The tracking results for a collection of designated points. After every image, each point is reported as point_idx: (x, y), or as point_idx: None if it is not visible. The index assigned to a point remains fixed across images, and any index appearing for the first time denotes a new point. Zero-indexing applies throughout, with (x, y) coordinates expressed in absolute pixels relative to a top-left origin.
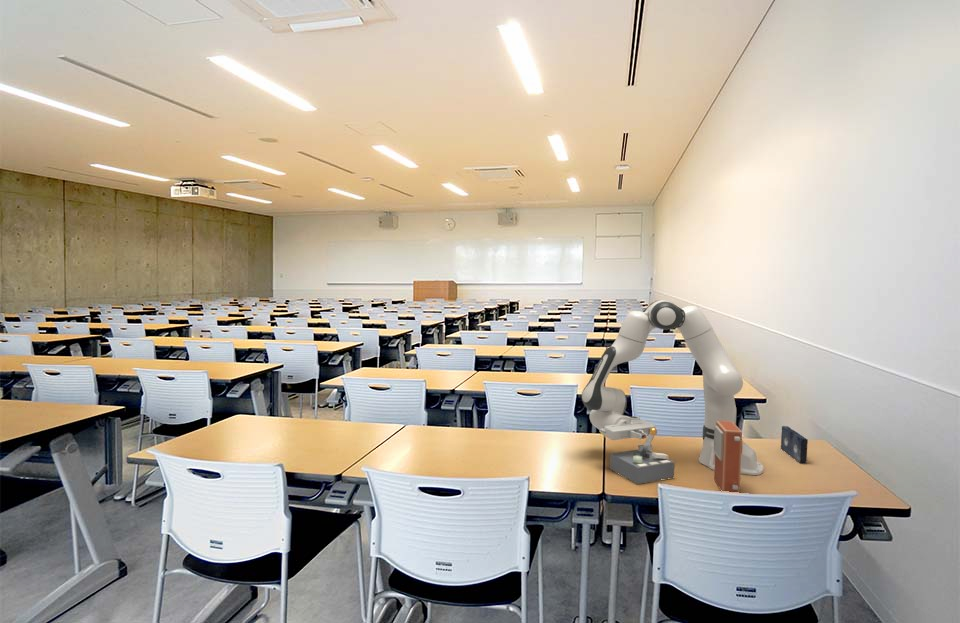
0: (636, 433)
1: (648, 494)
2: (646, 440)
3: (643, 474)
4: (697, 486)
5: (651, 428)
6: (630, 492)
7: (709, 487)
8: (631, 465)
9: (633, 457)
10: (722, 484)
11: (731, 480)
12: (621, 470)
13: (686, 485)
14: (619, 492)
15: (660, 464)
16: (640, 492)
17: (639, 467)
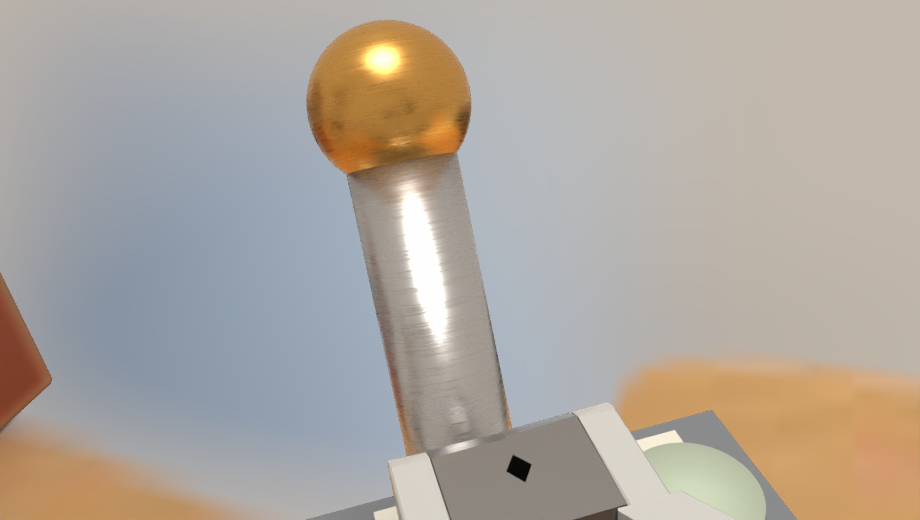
0: (696, 504)
1: (639, 374)
2: (499, 370)
3: None
4: (118, 494)
5: (422, 35)
6: (791, 405)
7: (36, 473)
8: (785, 516)
9: (763, 502)
10: (25, 333)
11: None
12: None
13: (198, 516)
14: (895, 406)
15: (364, 507)
16: (699, 403)
17: (690, 418)
